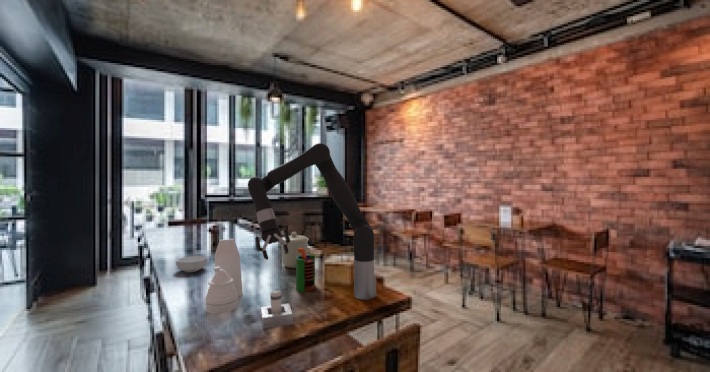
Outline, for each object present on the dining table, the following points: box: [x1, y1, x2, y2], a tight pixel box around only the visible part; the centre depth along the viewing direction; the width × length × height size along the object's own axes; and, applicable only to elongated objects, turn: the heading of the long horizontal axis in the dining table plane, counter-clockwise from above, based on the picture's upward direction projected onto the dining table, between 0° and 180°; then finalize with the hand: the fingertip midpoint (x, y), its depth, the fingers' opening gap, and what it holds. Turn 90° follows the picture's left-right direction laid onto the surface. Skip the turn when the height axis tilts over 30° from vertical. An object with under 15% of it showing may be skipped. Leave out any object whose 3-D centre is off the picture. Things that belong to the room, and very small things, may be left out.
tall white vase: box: [214, 238, 244, 297], centre depth 166 cm, size 12×12×26 cm
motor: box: [295, 248, 316, 293], centre depth 171 cm, size 10×9×20 cm
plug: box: [269, 290, 282, 314], centre depth 135 cm, size 4×4×11 cm
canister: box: [279, 231, 310, 269], centre depth 213 cm, size 18×18×21 cm
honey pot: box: [204, 266, 239, 315], centre depth 148 cm, size 13×13×18 cm
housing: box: [260, 303, 294, 329], centre depth 135 cm, size 11×11×4 cm
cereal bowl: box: [175, 255, 208, 273], centre depth 206 cm, size 17×17×7 cm
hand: (277, 256), depth 148 cm, fingers open, 8 cm apart
